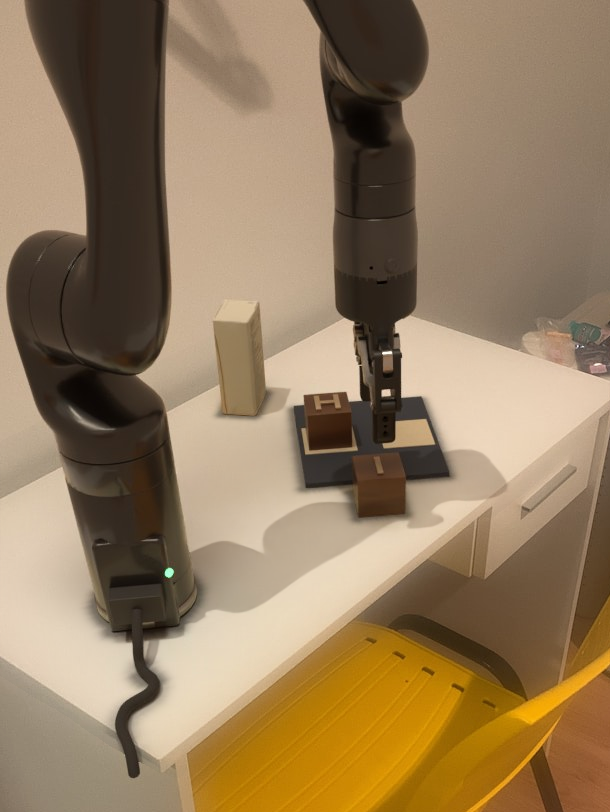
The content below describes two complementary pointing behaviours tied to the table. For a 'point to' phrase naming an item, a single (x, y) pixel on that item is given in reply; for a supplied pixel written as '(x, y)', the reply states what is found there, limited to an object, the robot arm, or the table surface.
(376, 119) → the robot arm
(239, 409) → the cosmetic box
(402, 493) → the brown letter i block
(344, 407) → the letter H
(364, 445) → the word mat
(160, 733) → the table surface
